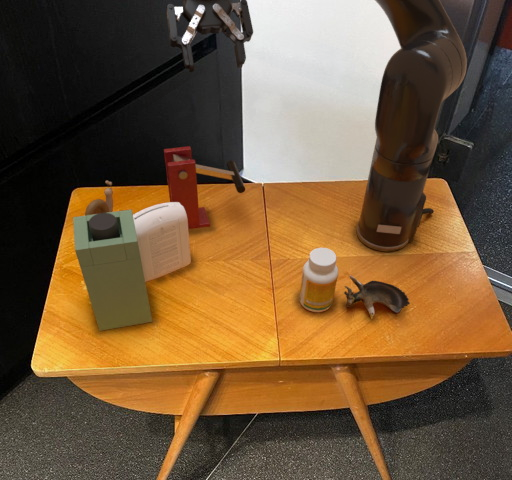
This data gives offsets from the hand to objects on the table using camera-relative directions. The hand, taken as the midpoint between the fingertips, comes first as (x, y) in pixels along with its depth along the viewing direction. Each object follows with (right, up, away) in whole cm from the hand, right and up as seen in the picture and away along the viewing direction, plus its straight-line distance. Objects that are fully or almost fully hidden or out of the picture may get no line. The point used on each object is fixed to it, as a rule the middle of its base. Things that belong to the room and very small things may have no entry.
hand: (216, 68), depth 94 cm
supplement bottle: (+16, -41, -6) cm, 44 cm away
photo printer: (-9, -35, -2) cm, 36 cm away
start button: (-14, -33, -19) cm, 41 cm away
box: (-14, -42, -9) cm, 45 cm away
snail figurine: (-19, -31, +1) cm, 36 cm away
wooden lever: (-2, -19, -1) cm, 19 cm away
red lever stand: (-6, -26, +5) cm, 27 cm away
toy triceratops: (+25, -42, -7) cm, 50 cm away
